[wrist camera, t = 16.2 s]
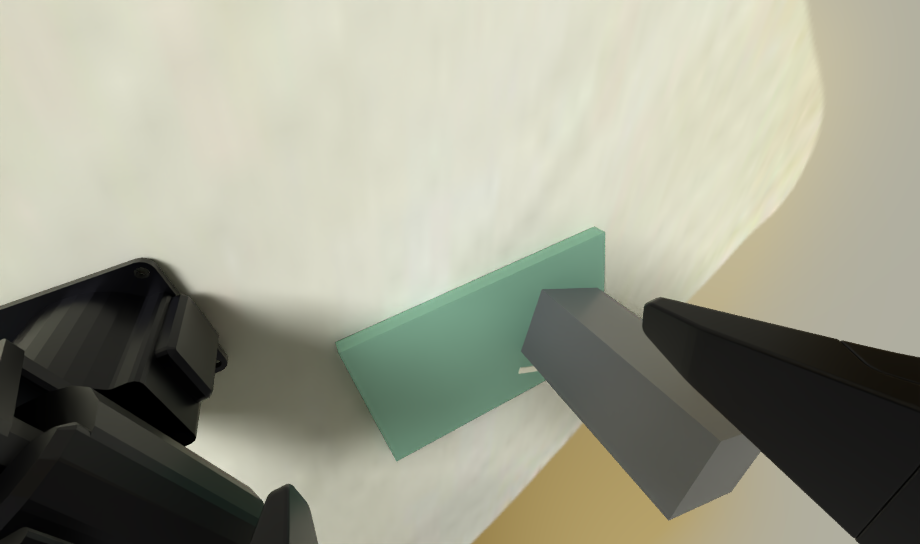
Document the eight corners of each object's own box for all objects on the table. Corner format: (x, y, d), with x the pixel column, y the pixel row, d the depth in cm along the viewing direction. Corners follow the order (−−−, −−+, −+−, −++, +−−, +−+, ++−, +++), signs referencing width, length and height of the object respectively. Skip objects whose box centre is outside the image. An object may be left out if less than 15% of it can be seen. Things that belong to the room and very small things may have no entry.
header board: (392, 449, 28) (407, 493, 26) (335, 342, 22) (347, 384, 20) (594, 341, 33) (626, 368, 30) (594, 226, 27) (634, 247, 24)
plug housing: (520, 351, 28) (668, 520, 18) (541, 289, 26) (721, 441, 16) (574, 345, 30) (731, 491, 20) (597, 287, 28) (784, 419, 18)
